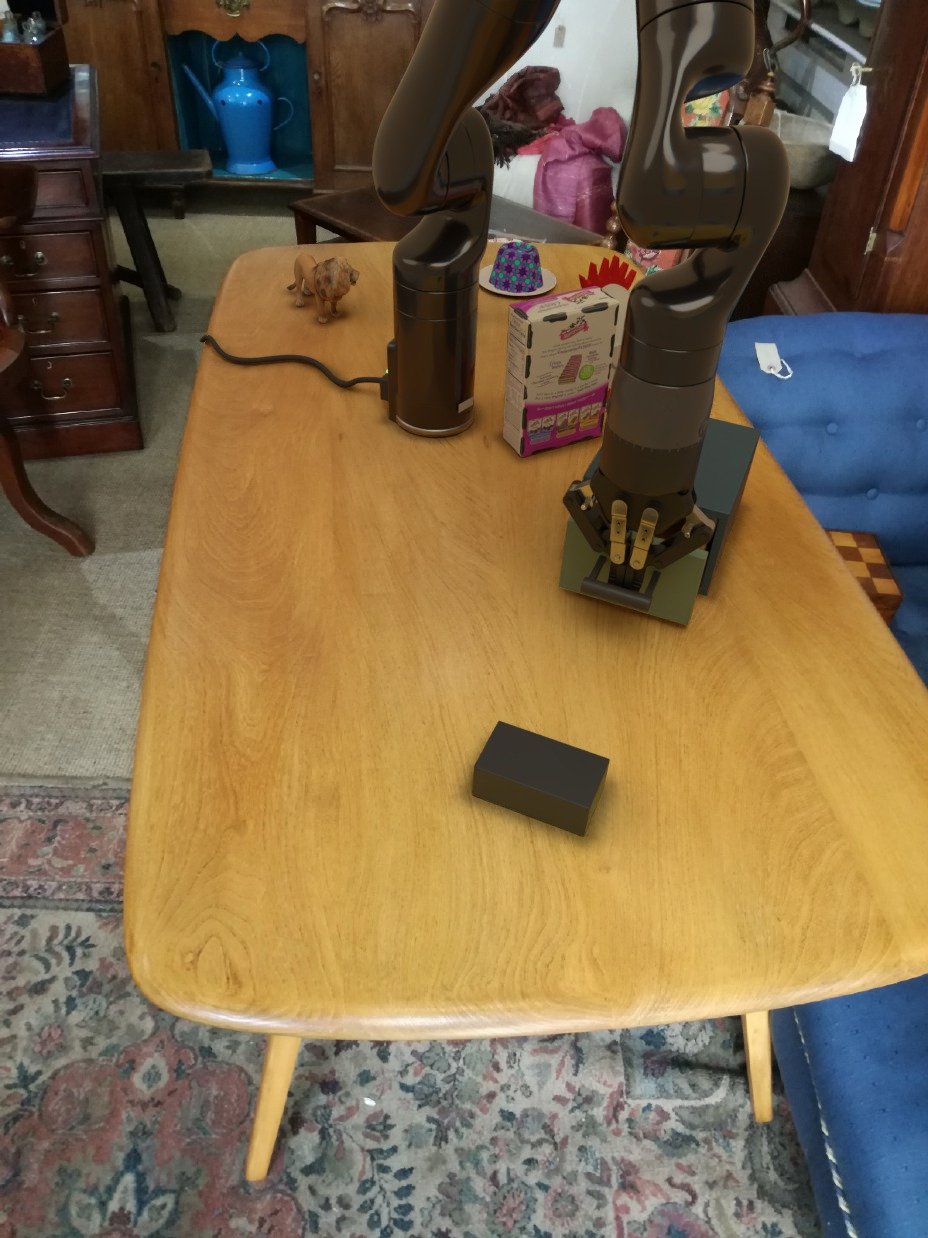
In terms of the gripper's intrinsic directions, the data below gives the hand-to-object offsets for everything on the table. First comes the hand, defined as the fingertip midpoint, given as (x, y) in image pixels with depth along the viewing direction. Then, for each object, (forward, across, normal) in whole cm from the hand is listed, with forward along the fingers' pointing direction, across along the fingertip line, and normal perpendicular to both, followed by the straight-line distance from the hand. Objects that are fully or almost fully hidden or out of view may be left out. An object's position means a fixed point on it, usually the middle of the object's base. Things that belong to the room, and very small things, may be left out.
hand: (623, 591), depth 82 cm
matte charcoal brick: (+5, 0, +20) cm, 20 cm away
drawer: (+4, 0, -7) cm, 8 cm away
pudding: (+5, +35, -66) cm, 75 cm away
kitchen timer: (+5, +16, -45) cm, 48 cm away
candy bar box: (+5, +16, -28) cm, 33 cm away
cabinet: (+5, 0, -16) cm, 17 cm away
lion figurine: (+5, +56, -46) cm, 72 cm away
